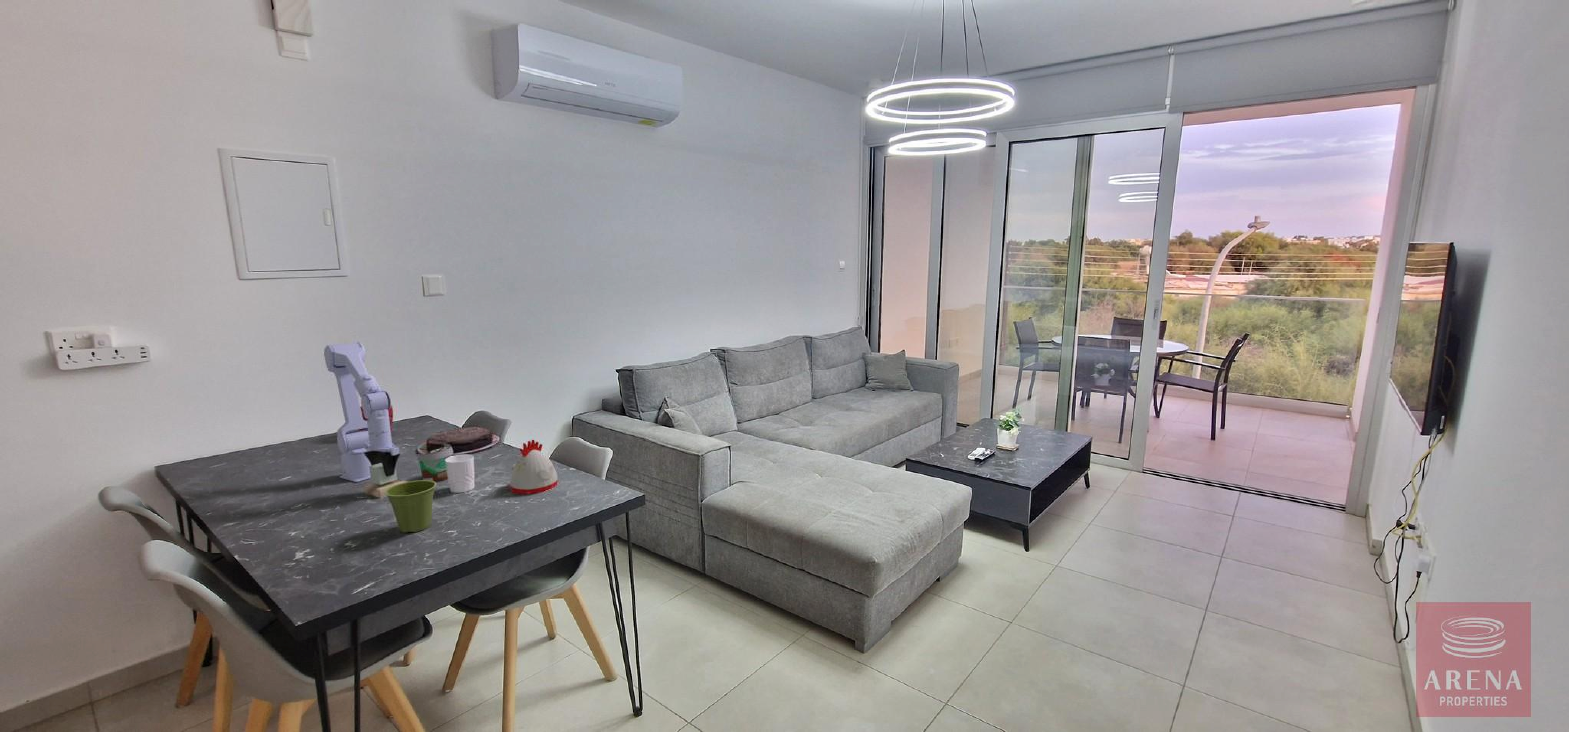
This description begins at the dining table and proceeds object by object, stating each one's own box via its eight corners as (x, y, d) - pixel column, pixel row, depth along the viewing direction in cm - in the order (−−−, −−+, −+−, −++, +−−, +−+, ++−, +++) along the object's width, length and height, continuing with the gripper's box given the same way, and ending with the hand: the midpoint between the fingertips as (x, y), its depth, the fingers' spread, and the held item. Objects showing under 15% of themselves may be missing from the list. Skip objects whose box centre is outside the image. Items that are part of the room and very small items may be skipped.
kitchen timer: (500, 489, 193) (496, 443, 191) (535, 475, 206) (532, 432, 203) (533, 497, 188) (529, 449, 185) (567, 482, 200) (564, 437, 197)
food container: (436, 486, 197) (433, 455, 195) (419, 484, 198) (416, 454, 196) (464, 472, 208) (461, 444, 207) (447, 471, 210) (445, 443, 208)
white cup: (482, 486, 196) (479, 456, 194) (460, 495, 189) (456, 463, 187) (464, 482, 199) (461, 452, 198) (442, 491, 192) (439, 460, 191)
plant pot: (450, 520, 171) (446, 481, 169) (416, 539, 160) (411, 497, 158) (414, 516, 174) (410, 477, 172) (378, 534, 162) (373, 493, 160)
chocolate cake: (409, 446, 239) (407, 429, 237) (486, 432, 257) (484, 416, 256) (428, 464, 218) (426, 446, 217) (510, 447, 237) (509, 430, 236)
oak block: (365, 494, 191) (364, 485, 190) (392, 486, 198) (391, 477, 197) (381, 499, 187) (379, 489, 186) (407, 490, 194) (406, 481, 193)
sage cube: (371, 481, 190) (369, 466, 189) (387, 476, 195) (385, 461, 194) (380, 484, 188) (378, 468, 187) (397, 479, 192) (395, 463, 191)
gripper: (351, 431, 189) (357, 474, 191) (380, 437, 182) (385, 481, 184) (375, 425, 195) (380, 467, 197) (404, 431, 188) (408, 474, 191)
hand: (384, 473), depth 191 cm, fingers closed on sage cube, 5 cm apart
